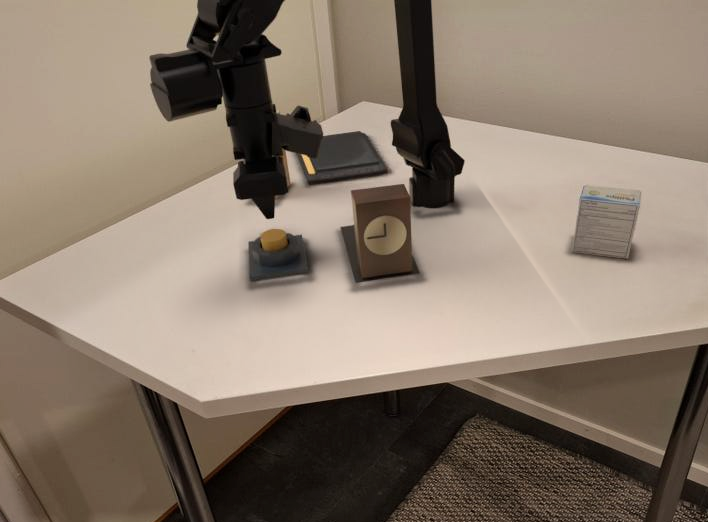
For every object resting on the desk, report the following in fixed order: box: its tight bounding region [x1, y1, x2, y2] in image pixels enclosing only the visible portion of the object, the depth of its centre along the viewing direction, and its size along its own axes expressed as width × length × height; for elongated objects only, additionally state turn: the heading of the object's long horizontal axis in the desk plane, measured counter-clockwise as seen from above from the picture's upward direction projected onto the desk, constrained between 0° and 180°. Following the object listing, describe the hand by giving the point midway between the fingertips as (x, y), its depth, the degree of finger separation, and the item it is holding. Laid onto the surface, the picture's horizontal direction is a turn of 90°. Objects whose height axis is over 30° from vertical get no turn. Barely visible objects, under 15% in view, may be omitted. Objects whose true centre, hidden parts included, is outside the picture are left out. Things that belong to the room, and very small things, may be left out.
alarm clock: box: [350, 183, 413, 278], centre depth 83 cm, size 7×11×4 cm
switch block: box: [247, 232, 309, 282], centre depth 90 cm, size 10×8×4 cm
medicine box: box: [571, 184, 642, 260], centre depth 88 cm, size 8×4×9 cm, turn 71°
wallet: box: [296, 130, 389, 186], centre depth 119 cm, size 20×2×15 cm
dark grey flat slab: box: [340, 224, 421, 284], centre depth 92 cm, size 9×16×1 cm, turn 11°
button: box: [259, 228, 288, 251], centre depth 89 cm, size 4×4×2 cm
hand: (270, 217), depth 86 cm, fingers closed
